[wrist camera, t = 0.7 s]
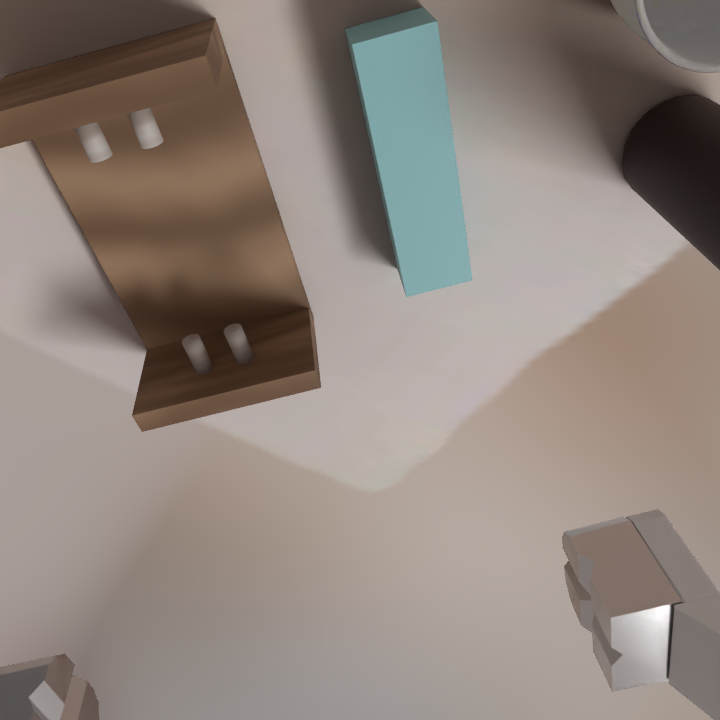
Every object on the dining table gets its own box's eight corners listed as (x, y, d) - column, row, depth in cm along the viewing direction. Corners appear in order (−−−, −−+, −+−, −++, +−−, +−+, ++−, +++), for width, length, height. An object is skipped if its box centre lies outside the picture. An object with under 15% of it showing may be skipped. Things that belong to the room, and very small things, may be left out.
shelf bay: (5, 76, 36) (-49, 124, 30) (215, 18, 35) (205, 55, 29) (157, 356, 49) (142, 431, 42) (313, 317, 48) (320, 387, 42)
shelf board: (344, 27, 37) (352, 44, 34) (422, 5, 36) (437, 21, 33) (396, 266, 47) (406, 296, 44) (458, 250, 46) (472, 280, 43)
